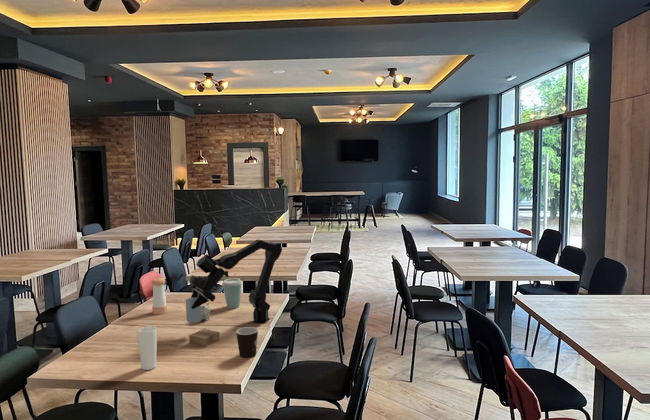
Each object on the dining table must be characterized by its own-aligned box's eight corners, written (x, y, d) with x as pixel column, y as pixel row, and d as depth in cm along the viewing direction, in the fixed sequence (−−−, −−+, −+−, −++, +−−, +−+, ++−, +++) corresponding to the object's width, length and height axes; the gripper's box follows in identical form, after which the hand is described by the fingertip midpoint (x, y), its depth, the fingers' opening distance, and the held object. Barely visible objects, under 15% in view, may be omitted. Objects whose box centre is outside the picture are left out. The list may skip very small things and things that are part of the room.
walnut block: (204, 337, 198) (204, 328, 198) (219, 340, 194) (219, 331, 193) (189, 344, 190) (189, 335, 190) (204, 348, 186) (204, 338, 186)
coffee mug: (248, 361, 171) (247, 336, 170) (232, 356, 176) (231, 332, 175) (268, 350, 181) (267, 327, 180) (252, 346, 185) (251, 323, 185)
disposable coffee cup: (240, 309, 237) (239, 282, 236) (220, 310, 237) (219, 282, 236) (244, 303, 247) (243, 277, 246) (225, 304, 248) (224, 277, 246)
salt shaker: (170, 311, 236) (168, 276, 235) (158, 315, 230) (156, 279, 229) (161, 309, 240) (159, 274, 239) (149, 313, 234) (147, 277, 232)
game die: (206, 328, 220) (206, 316, 214) (191, 321, 221) (190, 309, 215) (215, 314, 227) (216, 302, 220) (201, 308, 228) (201, 296, 222)
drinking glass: (142, 364, 170) (140, 326, 169) (160, 363, 171) (158, 325, 169) (136, 372, 163) (134, 332, 162) (155, 371, 164) (153, 331, 163)
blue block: (197, 318, 203) (196, 296, 202) (201, 321, 198) (200, 299, 198) (186, 320, 200) (185, 298, 199) (190, 323, 196) (188, 301, 195)
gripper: (193, 265, 207) (170, 292, 202) (207, 272, 192) (182, 301, 186) (210, 279, 212) (188, 306, 207) (225, 287, 197) (201, 316, 191)
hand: (190, 307), depth 198 cm, fingers closed on blue block, 5 cm apart
